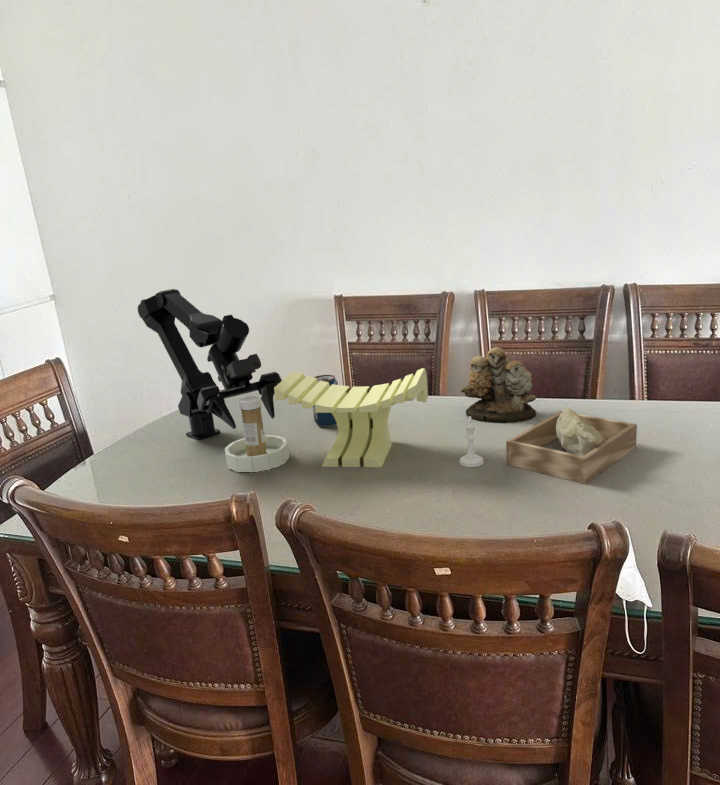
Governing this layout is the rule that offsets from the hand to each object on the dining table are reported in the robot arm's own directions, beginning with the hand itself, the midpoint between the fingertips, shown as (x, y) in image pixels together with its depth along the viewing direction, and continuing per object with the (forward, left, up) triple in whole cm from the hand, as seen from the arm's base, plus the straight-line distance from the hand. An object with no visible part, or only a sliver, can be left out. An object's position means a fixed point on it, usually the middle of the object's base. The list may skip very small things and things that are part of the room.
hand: (254, 422), depth 146 cm
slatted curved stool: (+15, +16, -9) cm, 24 cm away
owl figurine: (+27, +53, -10) cm, 60 cm away
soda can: (-6, +26, -9) cm, 29 cm away
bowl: (-1, 0, -9) cm, 9 cm away
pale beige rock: (+57, +41, -9) cm, 71 cm away
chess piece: (+39, +25, -9) cm, 47 cm away
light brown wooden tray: (+54, +39, -9) cm, 67 cm away
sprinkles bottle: (-1, 0, -8) cm, 8 cm away
